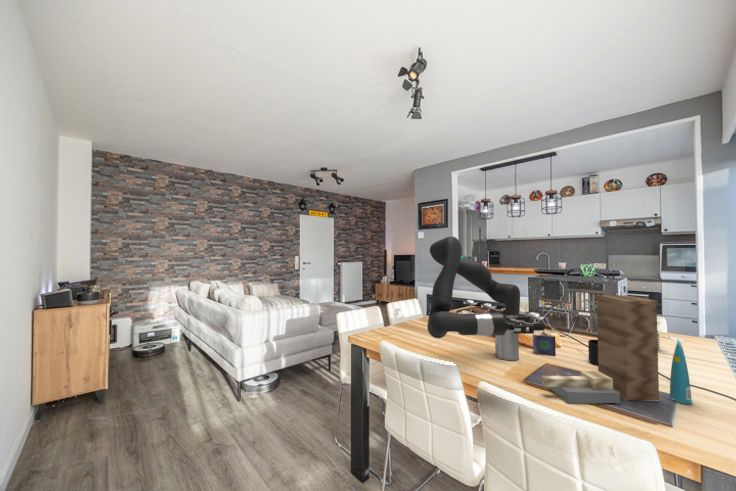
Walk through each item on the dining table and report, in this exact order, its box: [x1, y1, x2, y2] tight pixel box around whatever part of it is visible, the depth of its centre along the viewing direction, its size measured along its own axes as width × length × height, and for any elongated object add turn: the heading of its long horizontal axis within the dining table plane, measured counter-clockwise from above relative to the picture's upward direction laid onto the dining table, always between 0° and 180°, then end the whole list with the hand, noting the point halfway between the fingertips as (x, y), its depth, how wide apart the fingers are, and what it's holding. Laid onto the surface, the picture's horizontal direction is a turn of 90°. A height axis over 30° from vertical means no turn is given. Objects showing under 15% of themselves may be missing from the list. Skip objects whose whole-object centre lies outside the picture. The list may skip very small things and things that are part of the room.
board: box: [549, 387, 621, 405], centre depth 97 cm, size 16×10×4 cm, turn 88°
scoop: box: [541, 370, 613, 390], centre depth 97 cm, size 20×6×4 cm, turn 88°
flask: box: [532, 330, 557, 357], centre depth 138 cm, size 9×3×11 cm, turn 71°
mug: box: [587, 339, 598, 367], centre depth 126 cm, size 9×12×9 cm
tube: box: [669, 337, 693, 405], centre depth 94 cm, size 7×5×19 cm, turn 140°
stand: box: [594, 294, 660, 401], centre depth 100 cm, size 11×13×32 cm
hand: (536, 323), depth 98 cm, fingers open, 8 cm apart
